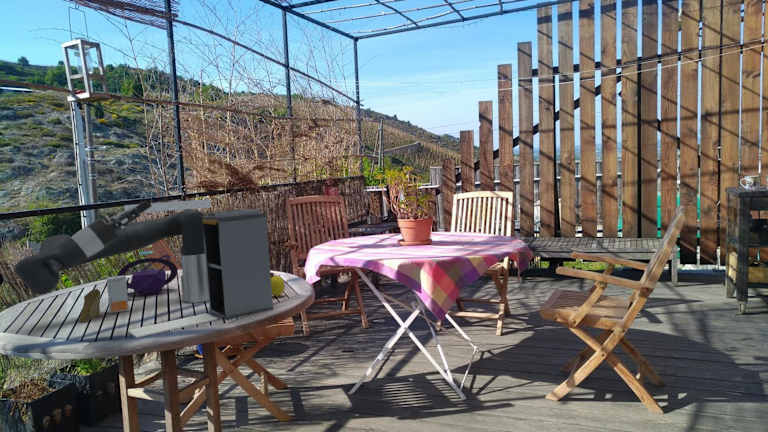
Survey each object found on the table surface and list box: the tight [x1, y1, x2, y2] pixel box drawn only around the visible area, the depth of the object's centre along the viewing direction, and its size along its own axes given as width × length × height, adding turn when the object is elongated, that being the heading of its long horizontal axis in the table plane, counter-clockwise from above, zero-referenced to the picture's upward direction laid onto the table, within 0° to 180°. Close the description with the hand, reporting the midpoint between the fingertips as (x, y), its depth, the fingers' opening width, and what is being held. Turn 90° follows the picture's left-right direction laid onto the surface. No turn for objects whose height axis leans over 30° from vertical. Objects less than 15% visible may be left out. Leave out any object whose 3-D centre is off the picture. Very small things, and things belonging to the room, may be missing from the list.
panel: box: [124, 198, 212, 214], centre depth 163 cm, size 24×4×2 cm, turn 127°
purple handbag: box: [117, 244, 179, 297], centre depth 213 cm, size 22×21×25 cm
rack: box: [202, 208, 274, 320], centre depth 178 cm, size 17×14×33 cm
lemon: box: [271, 274, 285, 298], centre depth 196 cm, size 6×6×8 cm
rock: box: [78, 288, 101, 323], centre depth 180 cm, size 10×8×10 cm
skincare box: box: [106, 274, 130, 314], centre depth 188 cm, size 6×4×12 cm
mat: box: [127, 312, 219, 339], centre depth 166 cm, size 24×9×1 cm, turn 129°
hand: (147, 203), depth 159 cm, fingers closed on panel, 4 cm apart
